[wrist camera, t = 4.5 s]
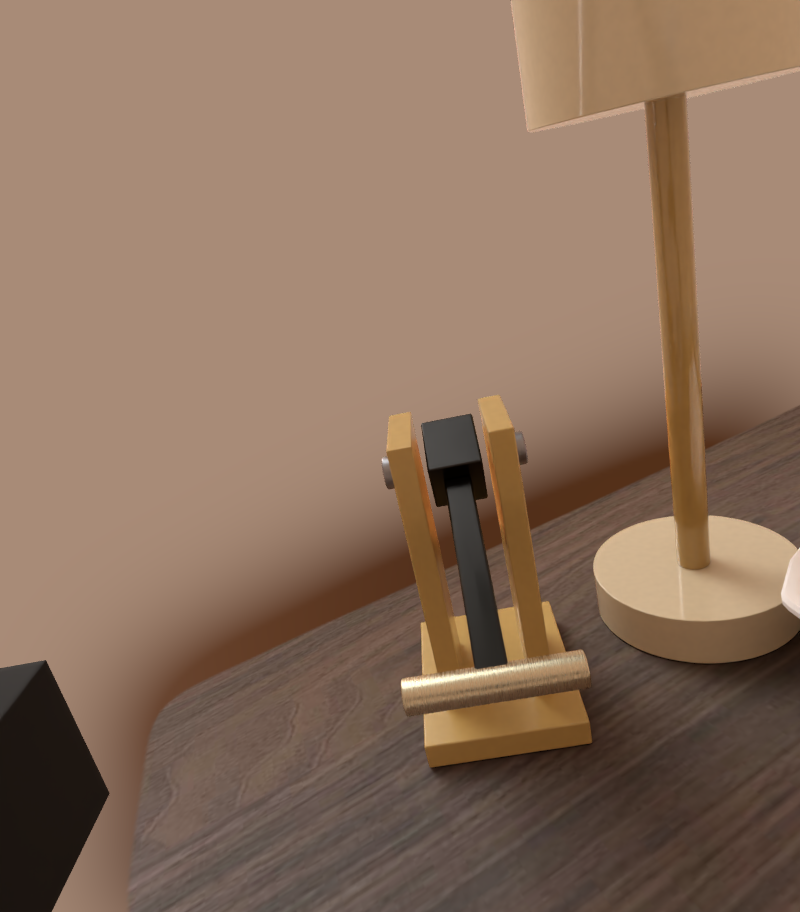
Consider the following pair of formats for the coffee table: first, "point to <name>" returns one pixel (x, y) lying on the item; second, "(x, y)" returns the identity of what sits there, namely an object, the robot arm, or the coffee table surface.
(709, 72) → the lamp
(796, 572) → the bowl
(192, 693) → the coffee table surface
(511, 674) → the switch
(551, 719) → the switch base
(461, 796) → the coffee table surface
